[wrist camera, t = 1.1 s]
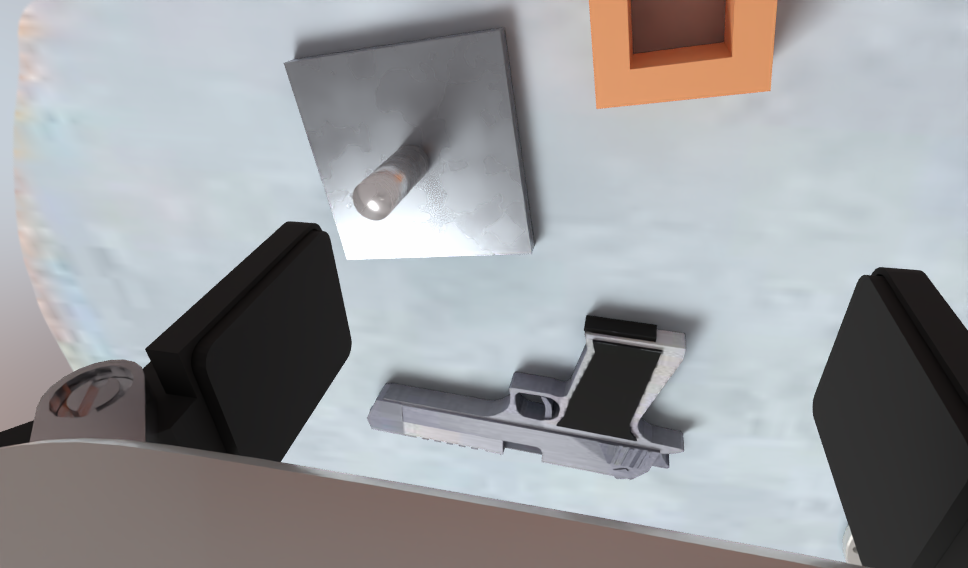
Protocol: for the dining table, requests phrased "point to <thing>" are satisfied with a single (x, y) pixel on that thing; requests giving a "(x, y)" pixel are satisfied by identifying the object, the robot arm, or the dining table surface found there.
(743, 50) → the orange square ring block
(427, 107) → the plate
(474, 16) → the dining table surface
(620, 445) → the handgun
